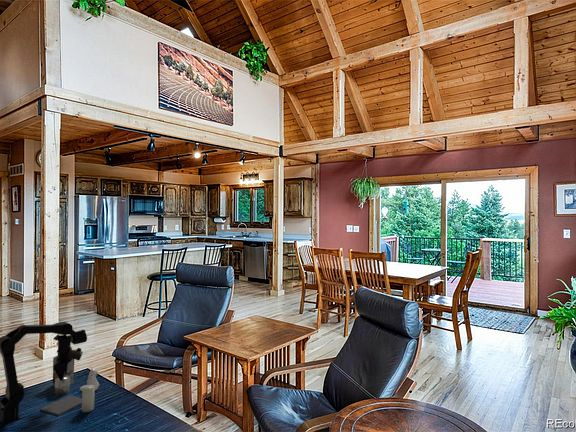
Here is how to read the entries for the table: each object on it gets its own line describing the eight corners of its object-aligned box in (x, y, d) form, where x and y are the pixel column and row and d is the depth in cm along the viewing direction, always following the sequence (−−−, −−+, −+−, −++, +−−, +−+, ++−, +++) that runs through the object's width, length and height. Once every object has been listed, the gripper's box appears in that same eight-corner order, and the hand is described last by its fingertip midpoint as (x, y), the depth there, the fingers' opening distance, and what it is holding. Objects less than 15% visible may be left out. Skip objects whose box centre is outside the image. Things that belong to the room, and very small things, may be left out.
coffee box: (74, 381, 216) (75, 354, 216) (66, 386, 209) (67, 358, 210) (59, 381, 216) (60, 353, 217) (51, 385, 210) (52, 357, 211)
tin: (60, 396, 197) (61, 381, 197) (51, 394, 200) (52, 379, 200) (72, 391, 204) (73, 376, 204) (63, 388, 206) (64, 374, 206)
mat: (58, 415, 177) (58, 414, 177) (40, 410, 182) (40, 408, 182) (87, 401, 192) (87, 399, 192) (69, 396, 197) (69, 395, 197)
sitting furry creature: (78, 390, 204) (79, 369, 204) (94, 385, 211) (95, 364, 211) (86, 395, 198) (87, 373, 199) (102, 390, 205) (103, 368, 206)
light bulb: (86, 413, 180) (87, 390, 180) (78, 410, 182) (79, 388, 182) (96, 408, 185) (97, 386, 186) (88, 405, 187) (89, 384, 188)
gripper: (78, 350, 185) (78, 381, 185) (84, 340, 203) (83, 368, 202) (53, 353, 181) (52, 385, 181) (61, 342, 199) (60, 371, 198)
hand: (63, 376), depth 191 cm, fingers open, 9 cm apart
